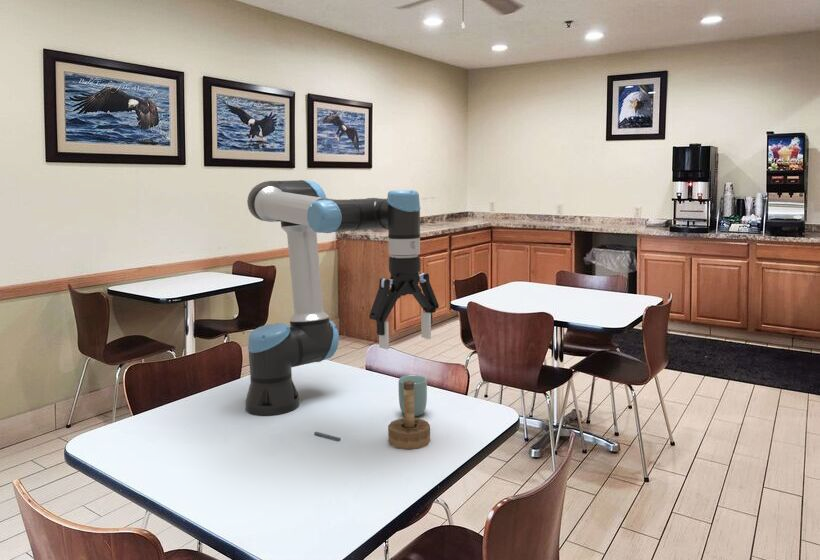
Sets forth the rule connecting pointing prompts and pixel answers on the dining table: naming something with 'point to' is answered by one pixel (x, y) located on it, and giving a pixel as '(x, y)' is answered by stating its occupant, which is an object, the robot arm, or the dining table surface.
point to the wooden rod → (409, 405)
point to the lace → (327, 436)
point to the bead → (409, 434)
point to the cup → (419, 393)
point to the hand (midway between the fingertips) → (405, 343)
